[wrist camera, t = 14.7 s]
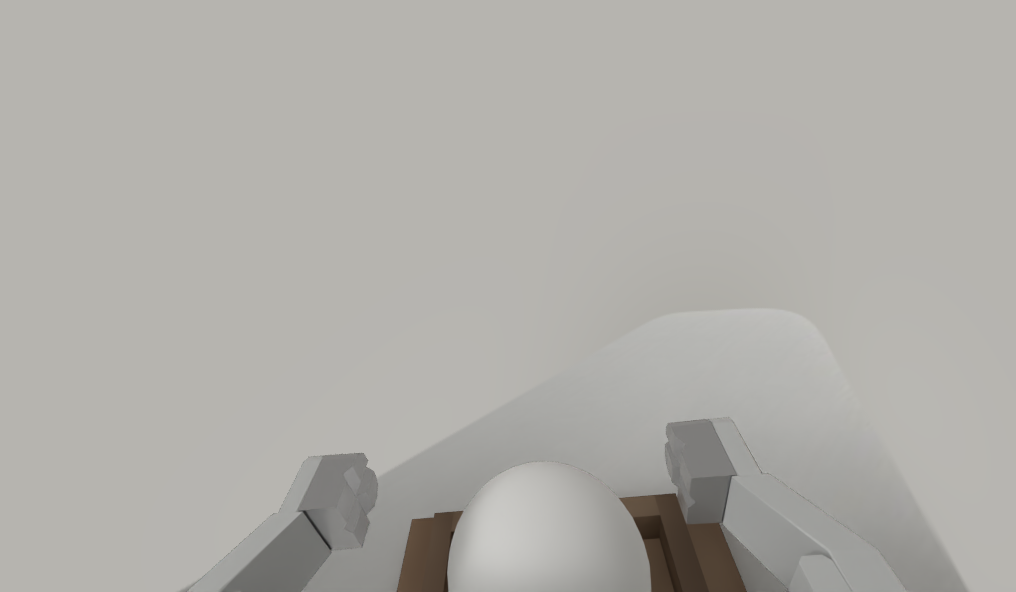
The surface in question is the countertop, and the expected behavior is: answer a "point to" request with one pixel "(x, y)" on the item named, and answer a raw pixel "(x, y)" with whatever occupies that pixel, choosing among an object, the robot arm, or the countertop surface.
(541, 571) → the lightbulb
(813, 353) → the countertop surface
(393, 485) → the countertop surface
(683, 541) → the brown rimmed tray
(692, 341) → the countertop surface
